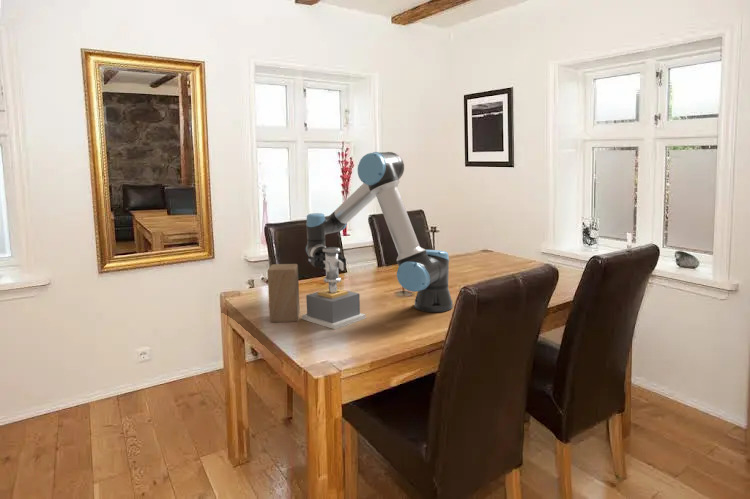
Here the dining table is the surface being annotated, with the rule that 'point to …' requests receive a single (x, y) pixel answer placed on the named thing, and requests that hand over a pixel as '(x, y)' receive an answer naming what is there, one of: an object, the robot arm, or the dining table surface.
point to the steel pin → (332, 268)
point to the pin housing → (333, 308)
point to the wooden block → (283, 292)
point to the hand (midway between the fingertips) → (335, 267)
